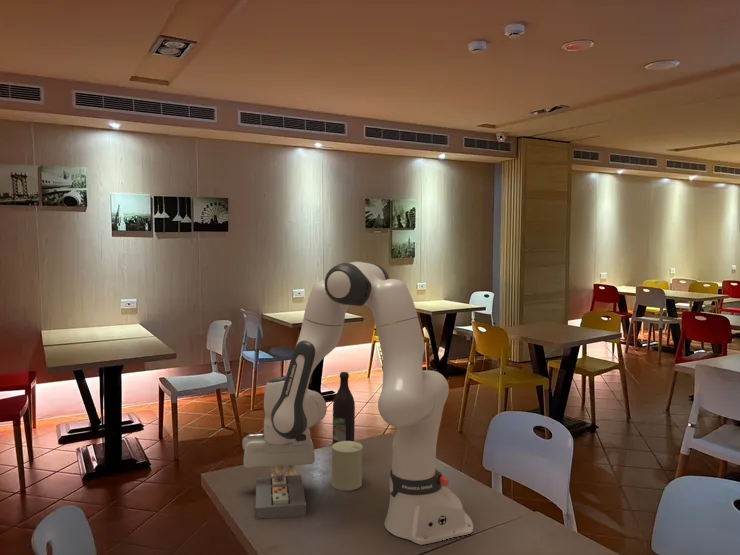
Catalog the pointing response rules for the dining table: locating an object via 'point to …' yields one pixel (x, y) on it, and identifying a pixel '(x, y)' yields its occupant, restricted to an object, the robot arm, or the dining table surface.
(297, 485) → the button panel
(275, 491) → the button three
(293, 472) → the hand bell
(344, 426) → the wine bottle
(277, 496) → the button two
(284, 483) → the button one
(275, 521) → the dining table surface
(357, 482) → the can
